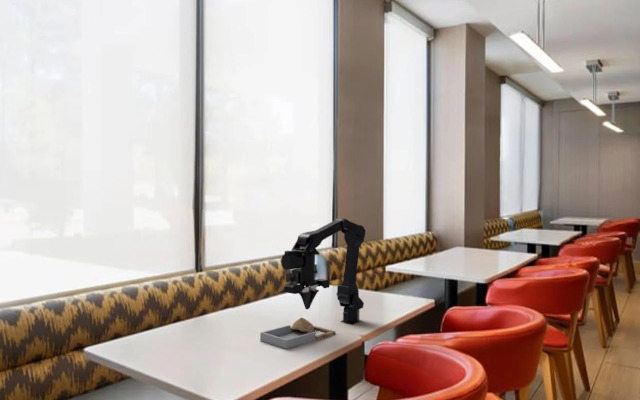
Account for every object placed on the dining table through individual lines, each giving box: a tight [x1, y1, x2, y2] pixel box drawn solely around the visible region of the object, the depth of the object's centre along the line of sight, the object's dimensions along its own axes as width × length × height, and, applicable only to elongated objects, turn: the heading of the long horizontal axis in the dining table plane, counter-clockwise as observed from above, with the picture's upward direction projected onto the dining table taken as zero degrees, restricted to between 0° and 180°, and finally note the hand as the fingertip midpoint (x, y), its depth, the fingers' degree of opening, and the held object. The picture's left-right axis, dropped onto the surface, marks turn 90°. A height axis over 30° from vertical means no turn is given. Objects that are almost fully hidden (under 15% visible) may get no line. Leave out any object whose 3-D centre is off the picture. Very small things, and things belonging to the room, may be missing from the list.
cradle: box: [291, 325, 336, 341], centre depth 185 cm, size 9×16×2 cm, turn 46°
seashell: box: [291, 317, 315, 334], centre depth 186 cm, size 8×6×8 cm
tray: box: [259, 324, 317, 350], centre depth 176 cm, size 14×14×3 cm
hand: (307, 309), depth 183 cm, fingers closed
